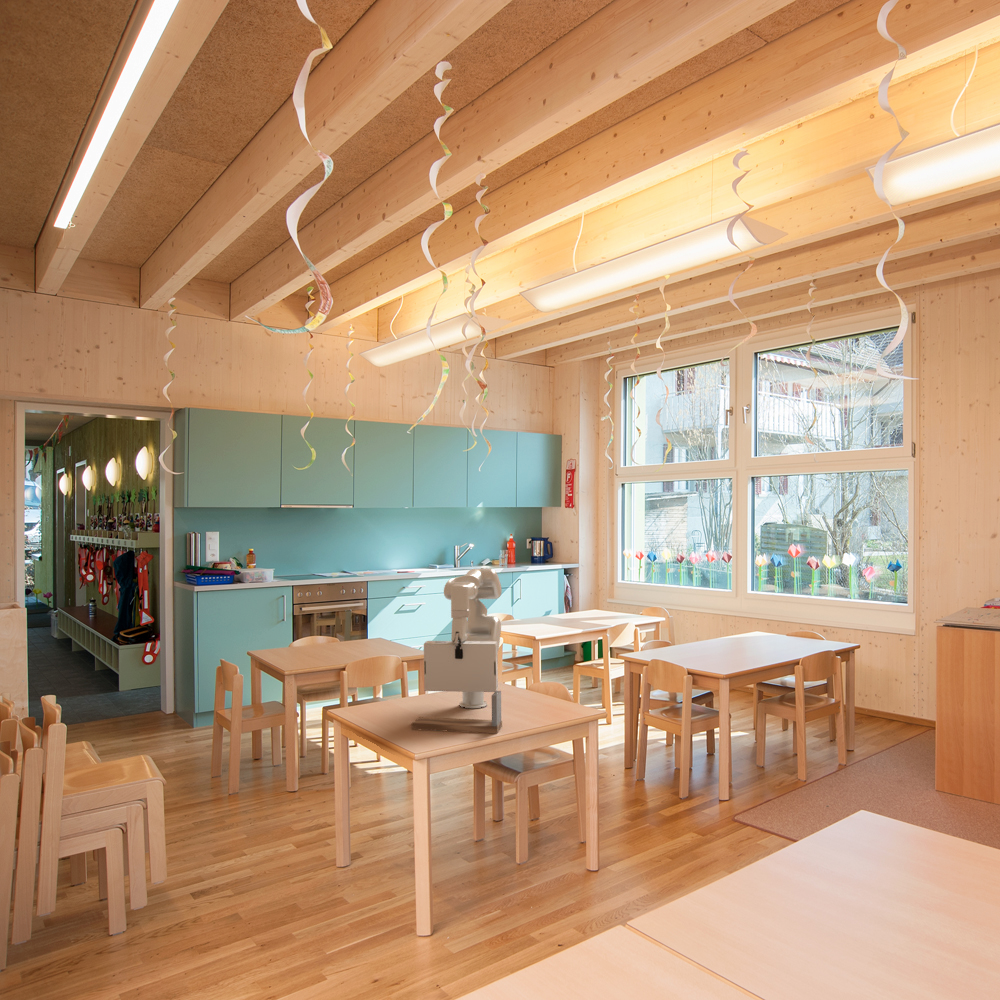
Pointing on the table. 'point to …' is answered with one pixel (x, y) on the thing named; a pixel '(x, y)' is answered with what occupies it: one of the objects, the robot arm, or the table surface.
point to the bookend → (496, 708)
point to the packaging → (461, 666)
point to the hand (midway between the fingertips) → (460, 657)
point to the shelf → (455, 724)
